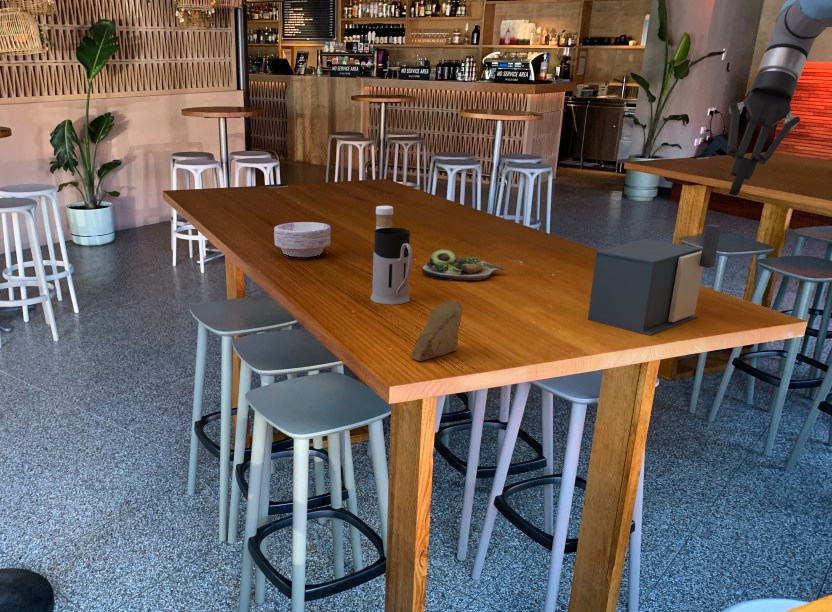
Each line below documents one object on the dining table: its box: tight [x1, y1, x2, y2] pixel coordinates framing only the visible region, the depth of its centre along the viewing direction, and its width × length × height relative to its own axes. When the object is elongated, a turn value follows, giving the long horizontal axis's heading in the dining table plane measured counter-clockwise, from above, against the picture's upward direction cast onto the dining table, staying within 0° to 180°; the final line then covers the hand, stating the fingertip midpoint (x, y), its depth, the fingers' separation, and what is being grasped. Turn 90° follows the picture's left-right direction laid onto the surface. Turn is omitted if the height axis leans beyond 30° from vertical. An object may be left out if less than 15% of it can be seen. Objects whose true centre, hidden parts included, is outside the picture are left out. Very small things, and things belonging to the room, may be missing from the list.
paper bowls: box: [273, 221, 331, 257], centre depth 213 cm, size 15×15×8 cm
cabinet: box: [587, 238, 702, 336], centre depth 158 cm, size 14×18×14 cm
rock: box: [410, 300, 463, 362], centre depth 140 cm, size 11×9×10 cm
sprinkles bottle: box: [375, 205, 394, 230], centre depth 209 cm, size 5×5×14 cm
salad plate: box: [421, 248, 506, 281], centre depth 195 cm, size 19×18×5 cm
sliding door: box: [668, 223, 722, 322], centre depth 154 cm, size 3×9×18 cm, turn 130°
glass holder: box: [369, 227, 413, 305], centre depth 169 cm, size 9×14×15 cm, turn 18°
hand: (734, 192), depth 152 cm, fingers closed
